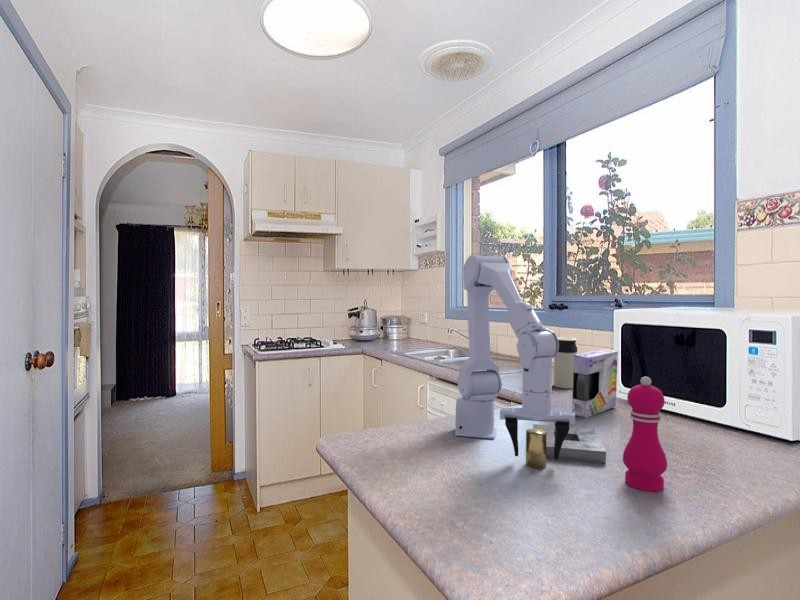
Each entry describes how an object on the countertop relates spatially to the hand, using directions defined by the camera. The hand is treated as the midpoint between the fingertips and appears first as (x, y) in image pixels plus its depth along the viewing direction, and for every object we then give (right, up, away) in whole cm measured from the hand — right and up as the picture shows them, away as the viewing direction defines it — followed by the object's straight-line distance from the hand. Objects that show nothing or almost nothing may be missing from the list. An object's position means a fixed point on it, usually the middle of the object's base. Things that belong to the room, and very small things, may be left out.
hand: (536, 456), depth 93 cm
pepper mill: (+17, -2, -9) cm, 20 cm away
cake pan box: (+30, -1, +42) cm, 51 cm away
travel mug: (+34, -1, +76) cm, 83 cm away
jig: (+10, -2, +11) cm, 15 cm away
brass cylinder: (0, -2, 0) cm, 2 cm away
